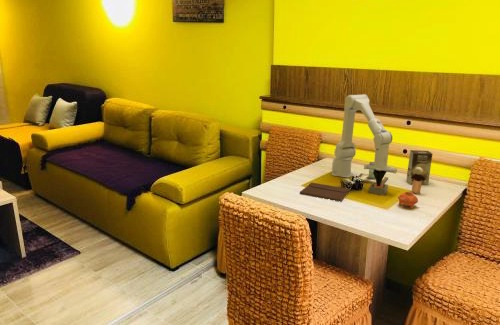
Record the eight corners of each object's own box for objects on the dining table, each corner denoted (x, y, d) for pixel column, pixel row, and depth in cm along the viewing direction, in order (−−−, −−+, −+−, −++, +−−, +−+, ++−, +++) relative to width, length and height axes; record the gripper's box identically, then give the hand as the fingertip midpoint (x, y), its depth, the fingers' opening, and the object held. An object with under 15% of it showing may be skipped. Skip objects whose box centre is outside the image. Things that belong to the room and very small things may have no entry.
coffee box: (409, 184, 202) (413, 153, 198) (406, 180, 208) (409, 149, 204) (428, 185, 201) (432, 153, 197) (424, 181, 207) (428, 150, 203)
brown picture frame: (354, 181, 207) (354, 179, 207) (361, 174, 217) (361, 172, 217) (382, 185, 201) (383, 183, 200) (388, 178, 211) (388, 176, 210)
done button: (372, 191, 191) (372, 186, 191) (374, 188, 195) (375, 183, 194) (381, 192, 189) (382, 187, 188) (384, 189, 193) (384, 184, 192)
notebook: (340, 203, 180) (341, 198, 180) (299, 195, 190) (299, 191, 189) (350, 192, 193) (351, 188, 192) (311, 185, 202) (311, 181, 201)
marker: (367, 178, 208) (368, 163, 206) (369, 176, 211) (370, 161, 208) (374, 179, 206) (375, 164, 204) (375, 177, 209) (377, 162, 207)
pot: (399, 200, 181) (404, 187, 178) (416, 208, 177) (422, 195, 174) (393, 205, 175) (398, 191, 172) (410, 213, 171) (416, 199, 168)
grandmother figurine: (407, 193, 190) (410, 167, 187) (408, 190, 194) (411, 164, 190) (424, 195, 187) (428, 169, 184) (425, 193, 190) (429, 167, 187)
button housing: (368, 192, 191) (369, 186, 190) (372, 188, 197) (372, 182, 196) (384, 195, 188) (384, 189, 187) (387, 190, 193) (387, 184, 193)
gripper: (363, 157, 188) (360, 185, 191) (395, 161, 181) (392, 190, 185) (367, 154, 194) (364, 181, 197) (398, 158, 187) (396, 186, 190)
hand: (378, 185), depth 191 cm, fingers closed, pressing on done button
